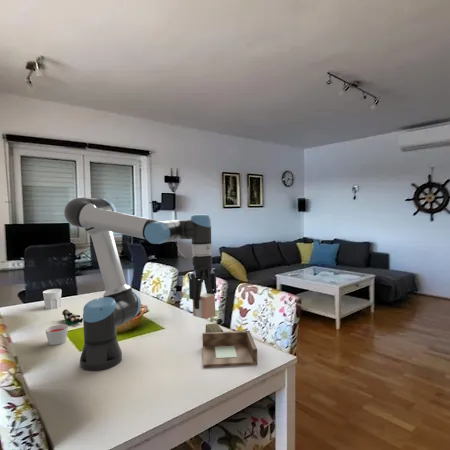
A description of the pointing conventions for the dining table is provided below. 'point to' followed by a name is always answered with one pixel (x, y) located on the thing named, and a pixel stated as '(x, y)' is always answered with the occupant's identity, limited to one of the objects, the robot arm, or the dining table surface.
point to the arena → (238, 339)
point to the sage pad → (225, 352)
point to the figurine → (71, 318)
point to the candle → (57, 334)
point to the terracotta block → (206, 305)
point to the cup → (52, 298)
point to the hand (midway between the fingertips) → (204, 314)
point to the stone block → (213, 328)
